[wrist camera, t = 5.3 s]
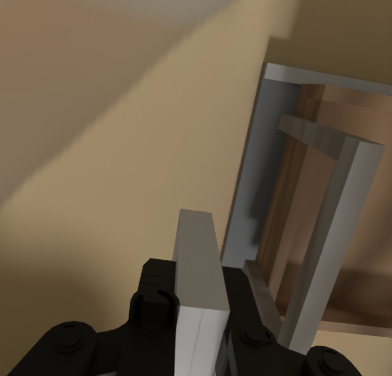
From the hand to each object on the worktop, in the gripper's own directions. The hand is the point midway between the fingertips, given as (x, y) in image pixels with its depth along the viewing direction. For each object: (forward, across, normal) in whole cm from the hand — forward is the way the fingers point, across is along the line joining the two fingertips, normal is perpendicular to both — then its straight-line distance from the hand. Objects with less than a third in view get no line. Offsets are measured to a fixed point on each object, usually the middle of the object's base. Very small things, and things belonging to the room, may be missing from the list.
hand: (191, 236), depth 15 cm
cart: (+10, -14, 0) cm, 17 cm away
